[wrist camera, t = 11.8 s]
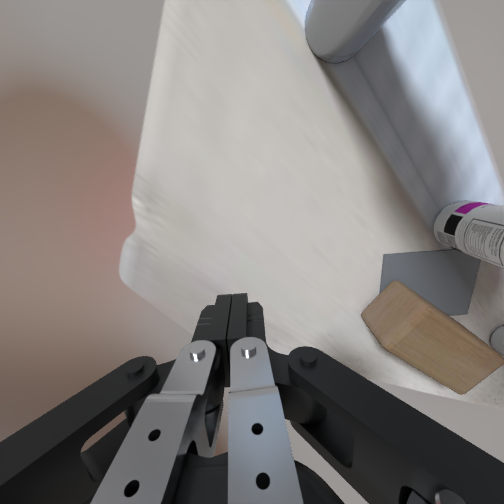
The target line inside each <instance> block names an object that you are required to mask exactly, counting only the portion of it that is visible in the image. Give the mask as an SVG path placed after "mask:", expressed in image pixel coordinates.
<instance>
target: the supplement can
mask: <svg viewBox="0 0 504 504" xmlns="http://www.w3.org/2000/svg"><path fill="white" fill-rule="evenodd" d="M434 235H435V237H436V239H437V241H439V242H440V243H441V244H442V245H445V246H447V247H450V248H453V249H455V250H458V251H460V252H463V253H465V254H468V255H470V256H473V257H475V258H478V259H480V260H483V261H486V262H488V263H491V264H493V265H496V266H498V267H501V268H503V269H504V206H501V205H495V204H488V203H481V202H474V201H467V200H464V201H456V202H454V203H451V204H449V205H448V206H447V207H445V208H444V209H443V210H442V211H441V212H440V214H439V215H438V216H437V218H436V220H435V223H434Z"/></svg>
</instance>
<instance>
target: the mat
mask: <svg viewBox="0 0 504 504" xmlns="http://www.w3.org/2000/svg"><path fill="white" fill-rule="evenodd" d="M479 263H480V259H478V258H475V257H473V256H470V255H468V254H465V253H463V252H460V251H458V250H455V249H453V250H439V251H424V252H410V253H395V254H384V256H383V265H382V275H381V284H380V293H381V292H382V291H383V290H384V289H385V288H386V287H387V286H388V285H389V284H390V283H391V282H392V281H394V280H396V281H400V282H402V283H403V284H405V285H406V286H407V287H409V288H410V289H412V290H413V291H414V292H416V293H417V294H419V295H420V296H422V297H423V298H424V299H426V300H427V301H429V302H430V303H431V304H433V305H434V306H436V307H437V308H439V309H440V310H441V311H443V312H444V313H446V314H447V315H461V314H467V313H468V309H469V305H470V301H471V296H472V292H473V288H474V284H475V280H476V276H477V272H478V267H479ZM380 293H379V294H380Z"/></svg>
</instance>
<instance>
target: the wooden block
mask: <svg viewBox="0 0 504 504" xmlns="http://www.w3.org/2000/svg"><path fill="white" fill-rule="evenodd" d="M361 317H362V318H363V320H364V321H365V323H366V324H367V325H368V327H369V328H370V330H371V331H372V332H373V334H374V335H375V337H376V338H377V339H378V341H379V342H380V344H381V345H382V346H383V348H384V349H386V350H388V351H389V352H391V353H393V354H394V355H396V356H397V357H399V358H401V359H402V360H404V361H406V362H407V363H409V364H410V365H412V366H414V367H415V368H417V369H419V370H420V371H422V372H423V373H425V374H427V375H428V376H430V377H432V378H433V379H435V380H436V381H438V382H440V383H441V384H443V385H445V386H446V387H448V388H449V389H451V390H453V391H454V392H456V393H458V394H460V395H462V394H465V393H467V392H468V391H469V390H471V389H472V388H473V387H474V386H476V385H477V384H478V383H480V382H481V381H482V380H484V379H485V378H486V377H487V376H489V375H490V374H491V373H493V372H494V371H495V370H497V369H498V368H499V367H500V366H502V365H503V364H504V359H503V357H502V356H501V355H500V354H499V353H498V352H496V351H495V350H494V349H492V348H491V347H490V346H489V345H487V344H486V343H485V342H483V341H482V340H481V339H479V338H478V337H477V336H476V335H474V334H473V333H472V332H470V331H469V330H468V329H467V328H465V327H464V326H463V325H461V324H460V323H458V322H457V321H456V320H454V319H453V318H451V317H450V316H448V315H447V314H446V313H444V312H443V311H441V310H440V309H439V308H437V307H436V306H434V305H433V304H431V303H430V302H429V301H427V300H426V299H424V298H423V297H422V296H420V295H419V294H417V293H416V292H414V291H413V290H412V289H410V288H409V287H407V286H406V285H405V284H403V283H402V282H400V281H396V280H394V281H392V282H391V283H390V284H389V285H388V286H387V287H386V288H385V289H384V290H383V291H382V292H381V293H380V294H379V295H378V296H377V297H376V298H375V299H374V300H373V301H372V302H371V303H370V304H369V305H368V306H367V308H366V309H365V310H364V311H363V312H362V314H361Z"/></svg>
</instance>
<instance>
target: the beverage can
mask: <svg viewBox="0 0 504 504" xmlns="http://www.w3.org/2000/svg"><path fill="white" fill-rule="evenodd" d="M491 345H492V346H493V347H494V348H495V349H496V350H497V351H499V352H500V353H502V354H503V355H504V326H501V327H499V328H497V329H496V330H495V331H494V332H493V334H492V336H491Z"/></svg>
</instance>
